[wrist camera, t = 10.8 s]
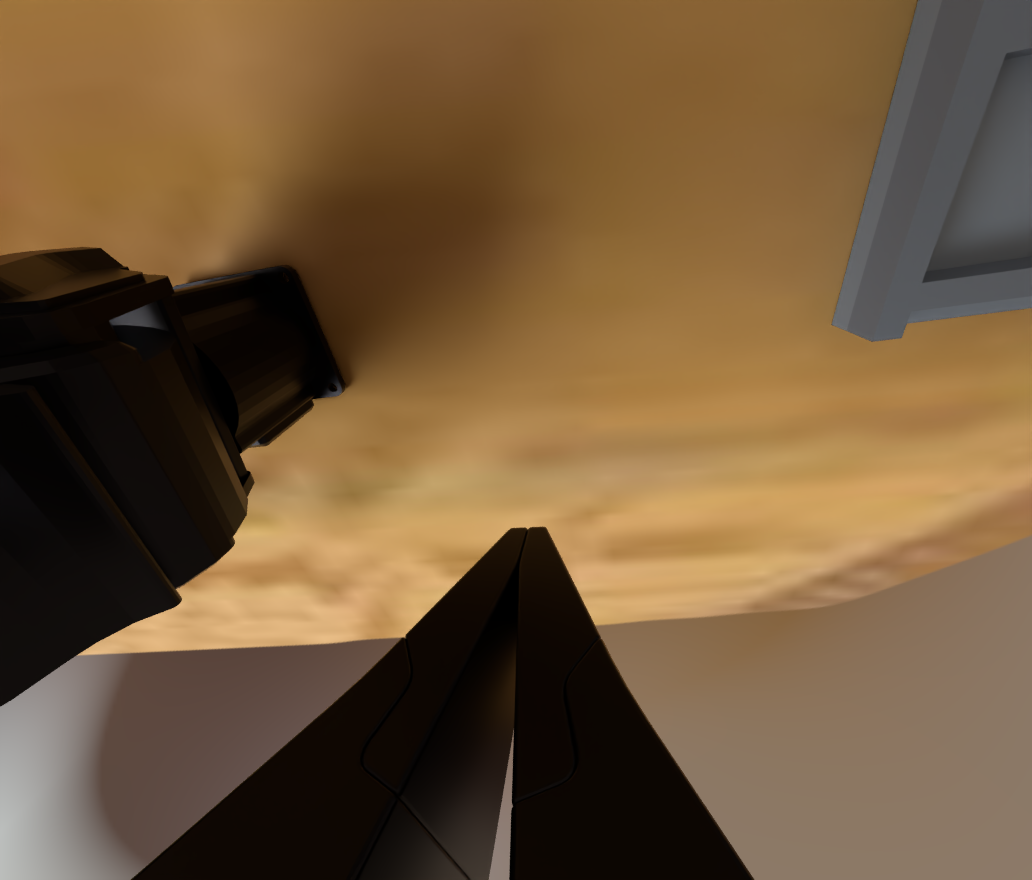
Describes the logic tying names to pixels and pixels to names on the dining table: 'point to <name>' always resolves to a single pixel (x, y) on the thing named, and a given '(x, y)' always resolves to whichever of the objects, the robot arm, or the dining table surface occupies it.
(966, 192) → the divided tray
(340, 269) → the dining table surface
